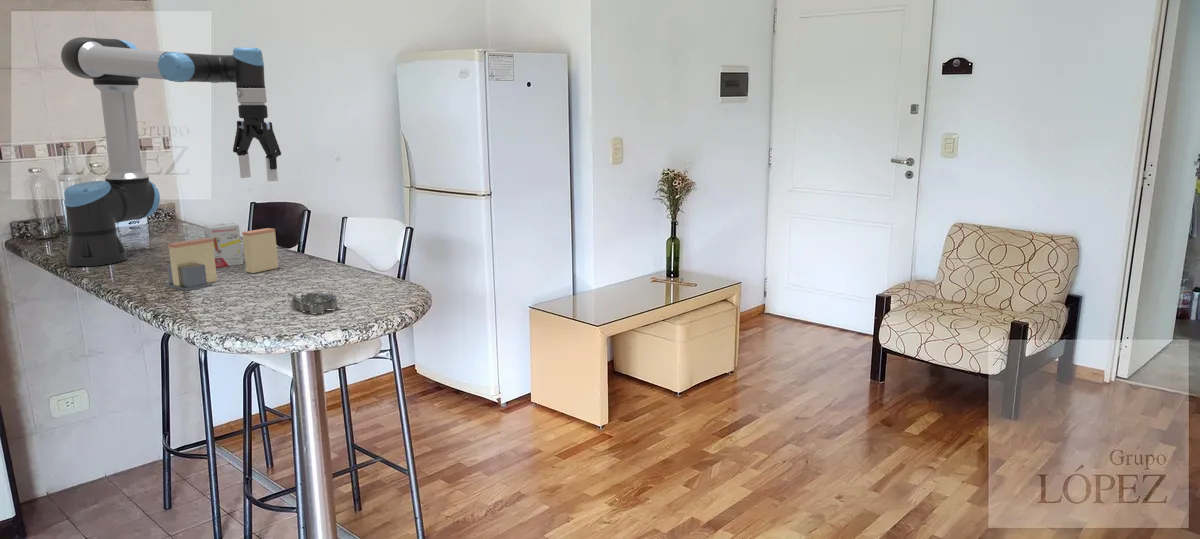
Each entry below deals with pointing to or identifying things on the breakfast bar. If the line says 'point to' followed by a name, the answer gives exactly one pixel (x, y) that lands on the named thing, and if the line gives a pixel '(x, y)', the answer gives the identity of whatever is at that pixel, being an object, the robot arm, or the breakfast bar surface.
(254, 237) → the stub
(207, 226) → the ink box
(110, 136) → the robot arm
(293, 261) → the breakfast bar surface
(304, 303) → the grey flat lobed block
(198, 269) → the ticket holder
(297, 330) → the breakfast bar surface
